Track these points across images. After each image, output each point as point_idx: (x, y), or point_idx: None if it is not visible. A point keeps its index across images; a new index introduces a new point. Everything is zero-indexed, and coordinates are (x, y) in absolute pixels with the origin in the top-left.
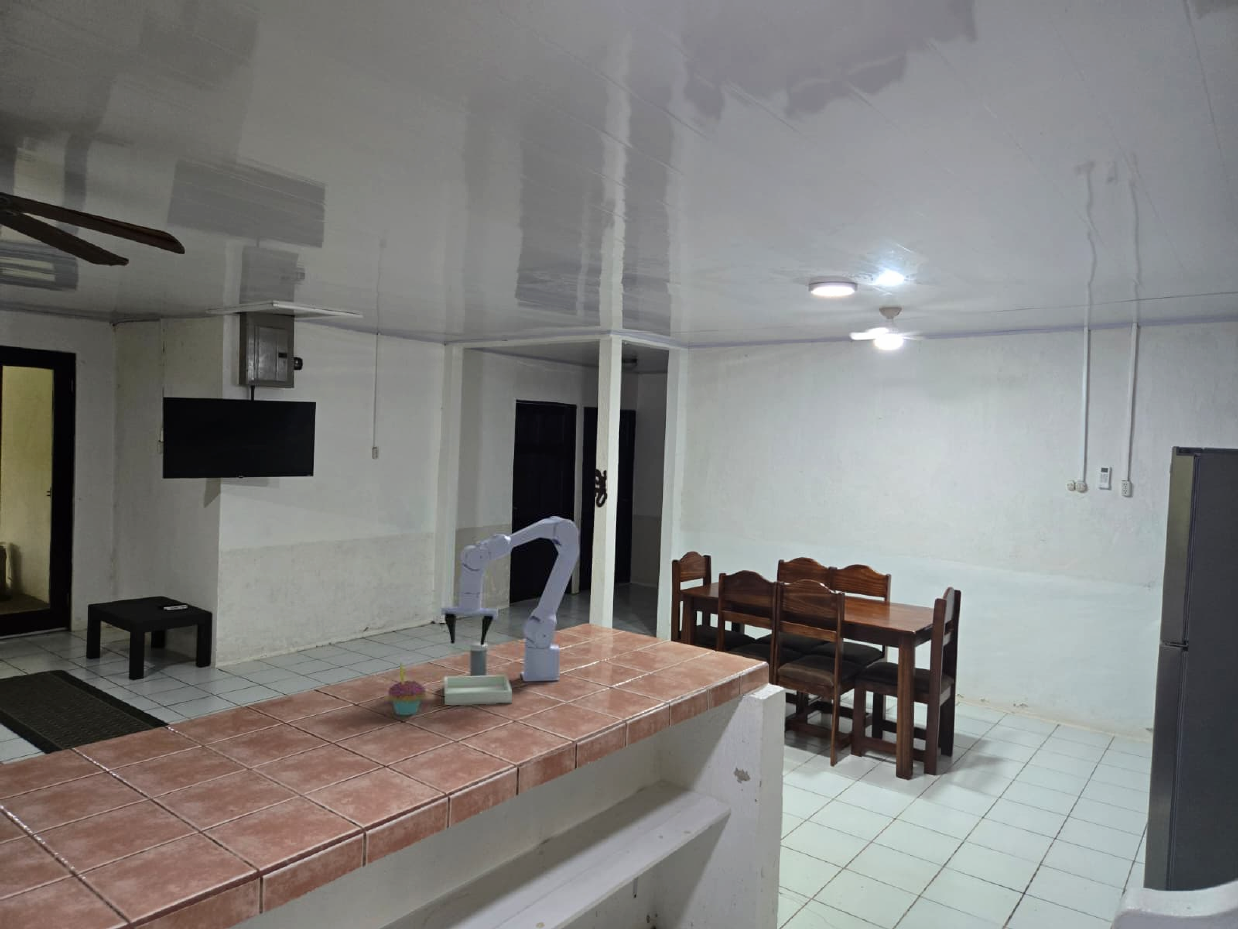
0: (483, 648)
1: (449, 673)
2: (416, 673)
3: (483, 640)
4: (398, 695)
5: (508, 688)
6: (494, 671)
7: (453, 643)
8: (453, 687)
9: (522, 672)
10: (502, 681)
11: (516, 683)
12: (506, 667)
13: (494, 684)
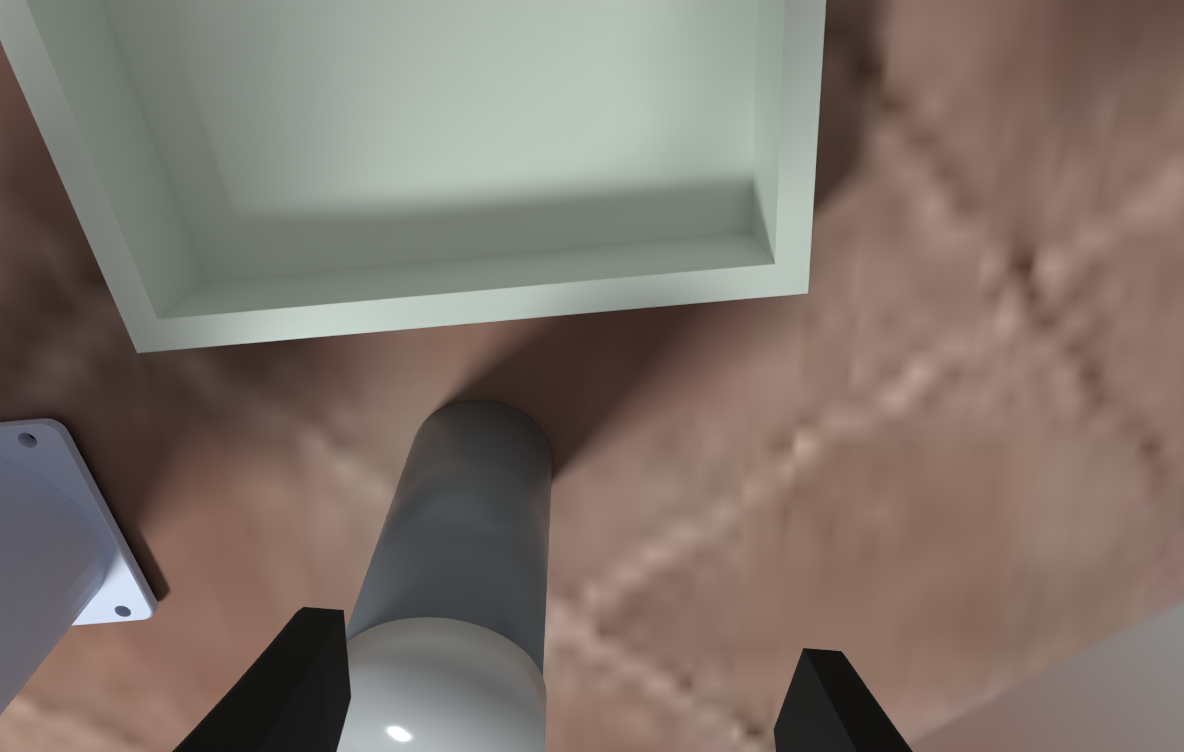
0: (353, 657)
1: (713, 608)
2: (953, 607)
3: (251, 668)
4: None
5: None
6: None
7: (807, 652)
8: (691, 211)
9: (133, 596)
10: (198, 294)
11: (126, 385)
12: None
13: (289, 278)
